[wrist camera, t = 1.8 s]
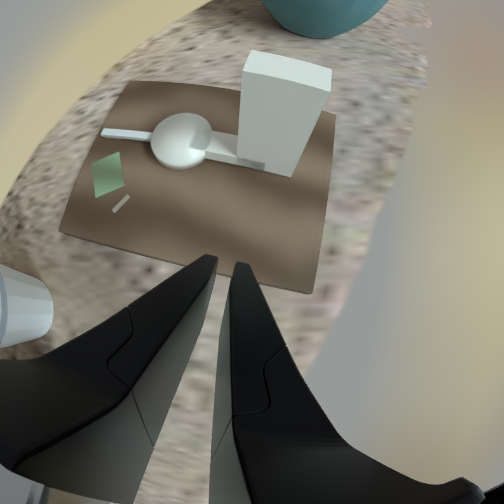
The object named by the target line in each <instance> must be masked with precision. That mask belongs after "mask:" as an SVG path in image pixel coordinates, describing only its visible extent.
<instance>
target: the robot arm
mask: <svg viewBox="0 0 504 504" xmlns="http://www.w3.org/2000/svg"><path fill="white" fill-rule="evenodd" d="M217 265H218V257H217V256H214V255H210V254H204V255H202V256H201V257H199V258H198V259H196V260H195V261H193V262H192V263H190V264H189V265H187V266H186V267H184V268H183V269H181V270H180V271H178V272H177V273H175V274H174V275H172V276H171V277H169V278H168V279H166V280H165V281H163V282H162V283H160V284H159V285H157V286H156V287H154V288H153V289H151V290H150V291H148V292H147V293H145V294H144V295H143V296H141V297H140V298H138V299H137V300H135V301H134V302H132V303H131V304H129V305H128V307H125V308H123V309H122V310H121V311H119V312H118V313H116V314H115V315H113V316H112V317H110V318H109V319H107V320H106V321H104V322H102V323H101V324H99V325H97V326H96V327H94V328H92V329H90V330H89V331H87V332H85V333H83V334H82V335H80V336H78V337H76V338H74V339H72V340H71V341H69V342H67V343H65V344H63V345H61V346H60V347H58V348H56V349H54V350H52V351H50V352H49V353H47V354H44V355H42V356H39V357H37V358H33V359H27V360H10V359H0V504H109V502H112V503H119V504H133V502H134V499H135V497H136V494H137V491H138V488H139V486H140V483H141V480H142V478H143V475H144V473H145V470H146V467H147V465H148V462H149V459H150V457H151V454H152V452H153V449H154V448H153V447H154V446H155V444H156V441H157V438H158V436H159V433H160V431H161V428H162V426H163V423H164V421H165V418H166V415H167V413H168V410H169V408H170V405H171V403H172V400H173V398H174V395H175V393H176V390H177V388H178V385H179V383H180V380H181V378H182V375H183V373H184V371H185V368H186V366H187V363H188V361H189V358H190V356H191V353H192V351H193V348H194V346H195V344H196V341H197V339H198V336H199V334H200V331H201V329H202V326H203V323H204V319H205V316H206V312H207V308H208V304H209V301H210V297H211V293H212V290H213V286H214V282H215V277H216V271H217ZM209 504H504V482H503V483H502V484H500V485H498V486H496V487H493V488H491V489H489V490H487V491H485V492H482V490H481V489H480V488H479V487H478V486H477V485H475V484H474V483H472V482H470V481H468V480H467V479H465V478H463V477H460V478H457V479H455V480H452V481H449V482H447V483H444V484H439V485H432V484H426V483H422V482H419V481H416V480H414V479H411V478H409V477H407V476H405V475H403V474H401V473H399V472H397V471H395V470H393V469H391V468H389V467H387V466H385V465H383V464H382V463H380V462H378V461H376V460H374V459H372V458H370V457H369V456H367V455H365V454H363V453H362V452H360V451H358V450H356V449H355V448H353V447H352V446H351V445H349V444H348V443H347V442H346V441H345V440H344V439H343V438H342V437H341V436H340V435H339V433H338V432H337V431H336V430H335V428H334V427H333V425H332V423H331V422H330V420H329V419H328V417H327V416H326V414H325V413H324V411H323V410H322V408H321V406H320V405H319V403H318V402H317V400H316V399H315V397H314V396H313V394H312V393H311V391H310V389H309V388H308V386H307V384H306V383H305V381H304V379H303V377H302V376H301V374H300V372H299V370H298V368H297V366H296V364H295V362H294V360H293V358H292V356H291V354H290V352H289V350H288V347H287V346H286V343H285V341H284V339H283V337H282V335H281V332H280V330H279V328H278V326H277V324H276V321H275V319H274V317H273V315H272V313H271V310H270V308H269V306H268V304H267V301H266V299H265V297H264V295H263V293H262V290H261V288H260V286H259V284H258V282H257V279H256V277H255V275H254V273H253V270H252V268H251V266H250V264H248V263H244V262H239V261H237V262H236V263H235V266H234V270H233V274H232V278H231V281H230V286H229V291H228V295H227V300H226V305H225V310H224V314H223V319H222V324H221V329H220V336H219V347H218V359H217V372H216V385H215V398H214V413H213V428H212V445H211V463H210V483H209Z"/></svg>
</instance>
